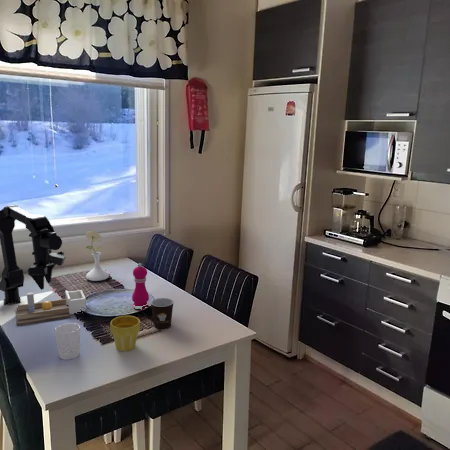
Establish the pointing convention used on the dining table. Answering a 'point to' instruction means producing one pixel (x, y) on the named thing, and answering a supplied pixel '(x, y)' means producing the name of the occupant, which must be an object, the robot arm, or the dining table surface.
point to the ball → (46, 305)
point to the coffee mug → (161, 312)
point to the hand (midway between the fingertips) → (45, 285)
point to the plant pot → (125, 332)
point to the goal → (75, 300)
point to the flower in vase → (96, 259)
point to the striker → (30, 301)
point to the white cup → (68, 340)
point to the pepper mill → (140, 286)
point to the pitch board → (42, 312)
